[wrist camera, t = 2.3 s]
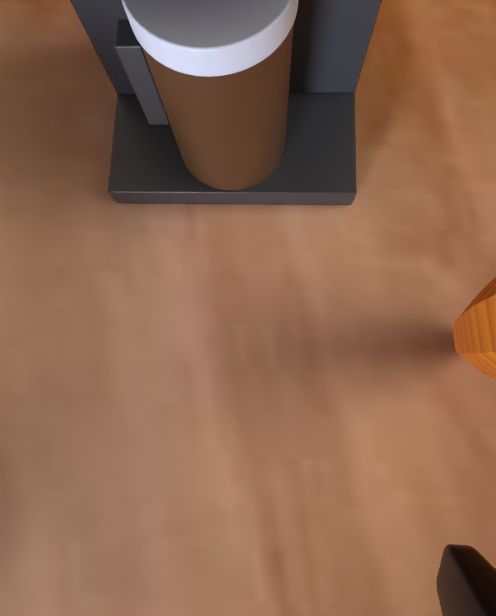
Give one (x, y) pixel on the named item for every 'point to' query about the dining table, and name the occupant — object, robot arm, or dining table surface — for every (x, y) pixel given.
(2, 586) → the dining table surface
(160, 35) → the coffee maker
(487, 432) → the dining table surface
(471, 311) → the carrot
